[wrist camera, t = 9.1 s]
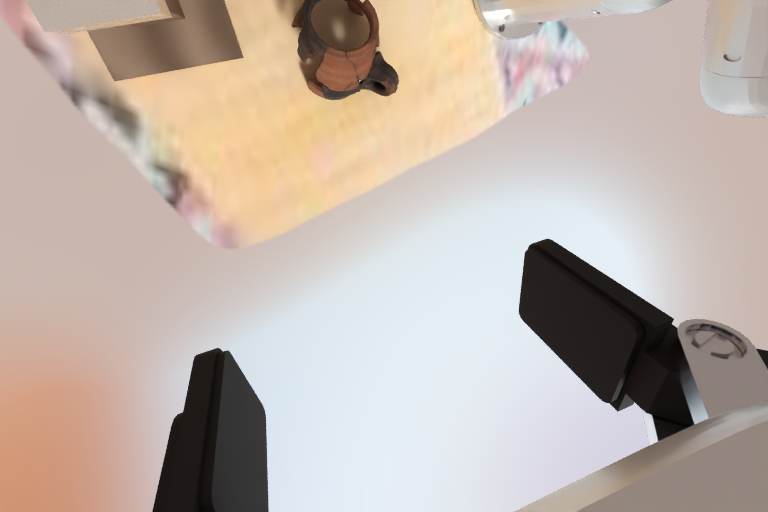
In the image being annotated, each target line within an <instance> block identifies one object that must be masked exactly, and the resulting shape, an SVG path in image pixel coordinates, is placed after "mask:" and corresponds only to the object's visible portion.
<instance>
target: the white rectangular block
mask: <svg viewBox="0 0 768 512" xmlns="http://www.w3.org/2000/svg"><path fill="white" fill-rule="evenodd" d="M26 1H27V3H28V5H29V6H30V8H31V10H32V11H33V13H34V15H35V16H36V18H37V20H38V21H39V23H40V25H41V26H42V28H43V30H44V31H45V32H55V33H68V34H70V33H77V32H83V31H90V30H96V29H102V28H109V27H115V26H122V25H128V24H134V23H141V22H147V21H153V20H160V19H166V18H172V16H171V14H170V11H169V9H168V6H167V4H166V2H165V0H26Z"/></svg>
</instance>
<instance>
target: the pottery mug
mask: <svg viewBox="0 0 768 512" xmlns="http://www.w3.org/2000/svg"><path fill="white" fill-rule="evenodd" d="M319 1H320V0H305V1H304V2H303V4H302V6H301V7H300V9H299V11H298V13H297V14H296V16H295V18H294V21H293V23H292V27H294V28H295V27H300V28H302V30H301V32H300V34H299V38H298V44H299V47H298V54H299V57H300V58H301V60H302V61H303V62H306V61H307V59H308V58H314V57H323V59H322V61H321V63H320V66H319V67H318V69H317V71H316V73H315V74H316V77H317V80H318V81H320V82H321V83H323V85H322V87H323V88H321V87H320V86H318V85H317V84H315V83H314V82H313V81H312V80H310V79H308V81H307V85H308V88H309V89H310V90H311V91H312V92H313V93H315V94H317V95H318V96H320V97H323V98H325V99H330V100H339V99H343V98H346V97H348V96H349V95H351V94H354V93H356V92H359V91H360V90H361V89H367V90H371V91H373V92H375V93H377V94H379V95H382V96H389V95H391V94H393V93H395V92H396V90H397V85H398V83H399V81H398V75H397V73H396V71H395V70H394V69H393V67H392V66H390V65H389V64H388V63H386V62H385V61H384V59H383V57H382V54H381V52H379V51H378V52H376V50H375V47H379V35H378V33H379V32H378V31H379V23H378V18H377V14H376V12H375V9H374V8H373V6H372V4H371V3H370V2H369V0H365V1H364V2H363V3H362V2H361V1H360V0H345V1H347V3H348V6H349V9H350V11H351V12H353V13H355V14H358V15H360V16H363V15H364V14H365V15H366V17H367V19H368V21H369V24H370V35H369V38H368V40H367V42H366V43H365V44H364V45H363V46H361V47H359V48H357V49H354V50H349V51H344V50H338V49H335V48H333V47H331V46H328V45H326V44H325V43H324V42H323V41H322V40H321V39H320V38H319V37H318V35H317V34H316V32H315V30H314V28H313V26H312V23H311V12H312V9H313V7H314V6H315V4H316V3H317V2H319ZM375 52H376V53H375ZM359 80H361V81H360V83H359Z"/></svg>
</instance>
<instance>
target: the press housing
mask: <svg viewBox="0 0 768 512" xmlns="http://www.w3.org/2000/svg"><path fill="white" fill-rule="evenodd" d="M165 2H166V4H167V6H168V9H169V11H170V14H171V16H172V18H166V19H160V20H153V21H147V22H141V23H134V24H128V25H122V26H115V27H109V28H102V29H96V30H90V31H88V33H89V35H90V37H91V39H92V41H93V42H94V44H95V46H96V48H97V50H98V52H99V54H100V55H101V57H102V59H103V61H104V63H105V65H106V66H107V68H108V70H109V72H110V74H111V76H112V78H113V79H114V81H119V80H124V79H130V78H135V77H141V76H146V75H152V74H157V73H163V72H168V71H173V70H179V69H184V68H190V67H195V66H201V65H206V64H212V63H217V62H223V61H228V60H233V59H239V58H243V55H242V52H241V49H240V46H239V43H238V40H237V37H236V34H235V31H234V28H233V25H232V22H231V19H230V16H229V13H228V10H227V7H226V4H225V1H224V0H165Z"/></svg>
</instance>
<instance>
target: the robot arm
mask: <svg viewBox="0 0 768 512" xmlns="http://www.w3.org/2000/svg"><path fill="white" fill-rule="evenodd" d="M473 1H474V5H475V9H476V12H477V14H478V16H479V19H480V21H481V22H482V24H483V25H484V26H485V28H486V29H487V30H488V31H489V32H490V33H492V34H493V35H495V36H497V37H499V38H502V39H507V40H510V39H520V38H525V37H527V36H529V35H531V34H533V33H534V32H536V31H537V30H539V29H540V28H541V27H542V26H543V25H544V24H545V23H546V22H548V21H559V20H569V19H581V18H591V17H602V16H612V15H624V14H634V13H641V12H646V11H649V10H652V9H655V8H658V7H660V6H662V5H664V4H666V3H668V2H670V1H671V0H473ZM700 91H701V95H702V97H703V99H704V101H705V102H706V103H707V104H708V105H709V106H710V107H711V108H712V109H714V110H716V111H718V112H721V113H724V114H727V115H732V116H739V117H751V118H756V117H757V118H768V0H708V8H707V16H706V24H705V33H704V42H703V50H702V58H701V67H700ZM519 314H520V317H521V318H522V320H523V321H524V322H525V323H526V324H527V325H528V326H529V327H530V328H531V329H532V330H533V331H534V332H535V333H536V334H537V335H538V336H539V337H540V338H541V339H542V340H543V341H544V342H545V343H546V344H547V345H548V346H549V347H550V348H551V350H553V351H554V353H555V354H556V355H557V356H558V357H559V358H560V359H562V360H563V362H564V363H565V364H566V365H567V366H568V367H569V368H571V370H572V371H573V372H574V373H575V374H576V375H577V376H578V377H579V378H580V379H581V380H582V381H583V382H584V383H585V384H586V385H587V386H588V387H589V388H590V389H591V390H592V391H593V392H594V393H595V394H596V395H597V396H598V397H599V398H600V399H601V400H602V401H604V402H606V403H610V404H611V405H612V406H613V407H614V408H615V409H616V410H617V411H620V410H622V409H625V408H627V407H629V406H631V405H633V404H634V402H635V403H636V404H637V405H638V406H639V407H640V408H641V409H642V411H643V416H644V421H645V425H646V430H647V434H648V439H649V444H650V446H648V447H646V448H644V449H642V450H640V451H637V452H635V453H633V454H631V455H629V456H627V457H625V458H623V459H621V460H619V461H617V462H615V463H613V464H611V465H609V466H607V467H605V468H603V469H601V470H599V471H596V472H594V473H592V474H590V475H588V476H586V477H584V478H582V479H580V480H578V481H576V482H574V483H572V484H570V485H568V486H566V487H564V488H562V489H560V490H558V491H556V492H553V493H552V494H549V495H548V496H545V497H543V498H542V499H540V500H537V501H535V502H533V503H531V504H529V505H527V506H525V507H523V508H521V509H519V510H517V511H515V512H768V351H766V350H761V349H756V348H755V346H754V345H753V344H752V343H751V342H750V340H749V339H748V338H746V337H745V336H744V335H742V334H741V333H740V332H738V331H736V330H734V329H732V328H731V327H729V326H726V325H723V324H721V323H718V322H714V321H709V320H704V319H692V320H686V321H685V322H683V323H681V324H680V325H679V327H678V328H676V327H675V326H674V325H672V322H673V320H674V319H673V318H672V317H670V316H669V315H667V314H666V313H664V312H662V311H661V310H659V309H658V308H656V307H655V306H653V305H652V304H650V303H648V302H647V301H645V300H644V299H642V298H641V297H639V296H637V295H636V294H634V293H633V292H631V291H630V290H628V289H627V288H625V287H624V286H622V285H621V284H619V283H617V282H616V281H614V280H613V279H611V278H610V277H608V276H607V275H605V274H603V273H602V272H600V271H599V270H597V269H596V268H594V267H593V266H591V265H589V264H588V263H587V262H585V261H583V260H582V259H580V258H579V257H577V256H576V255H574V254H573V253H571V252H570V251H568V250H567V249H565V248H563V247H562V246H560V245H559V244H557V243H556V242H554V241H553V240H550V239H545V240H542V241H539V242H536V243H533V244H531V245H530V246H529V247H528V250H527V251H526V252H525V258H524V267H523V276H522V286H521V294H520V304H519ZM267 479H268V478H267V442H266V415H265V410H264V408H263V405H262V403H261V402H260V400H259V399H258V397H257V395H256V394H255V392H254V390H253V389H252V387H251V386H250V384H249V382H248V381H247V379H246V377H245V376H244V374H243V373H242V371H241V369H240V368H239V366H238V365H237V363H236V361H235V360H234V358H233V356H232V355H231V353H230V352H229V351H224V352H223V351H222V350H221V349H219V348H216V349H213V350H211V351H207V352H204V353H201V354H198V355H196V356H195V358H194V361H193V366H192V371H191V376H190V381H189V386H188V391H187V396H186V402H185V406H184V411H183V413H180V414H178V415H177V416H176V417H175V418H174V420H173V423H172V426H171V431H170V435H169V440H168V445H167V449H166V453H165V458H164V462H163V467H162V471H161V476H160V480H159V485H158V489H157V494H156V498H155V503H154V507H153V512H268V480H267Z"/></svg>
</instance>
